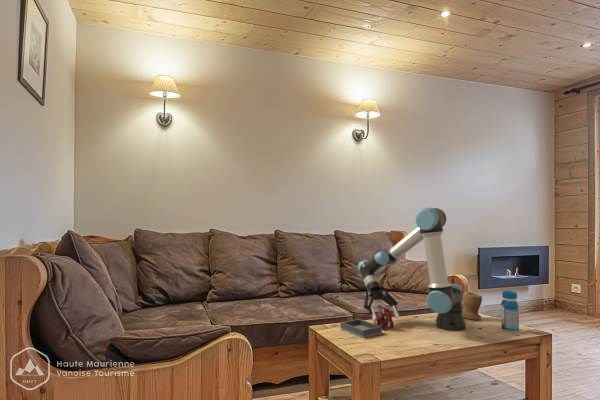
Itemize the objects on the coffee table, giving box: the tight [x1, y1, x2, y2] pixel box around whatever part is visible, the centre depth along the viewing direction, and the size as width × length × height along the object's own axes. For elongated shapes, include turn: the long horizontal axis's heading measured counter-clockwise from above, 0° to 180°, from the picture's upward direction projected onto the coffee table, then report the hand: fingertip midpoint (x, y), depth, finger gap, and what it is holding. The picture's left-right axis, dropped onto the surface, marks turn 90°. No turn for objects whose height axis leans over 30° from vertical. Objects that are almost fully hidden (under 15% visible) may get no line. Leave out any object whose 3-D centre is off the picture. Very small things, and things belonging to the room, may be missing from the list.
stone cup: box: [462, 291, 483, 321], centre depth 222 cm, size 15×12×15 cm
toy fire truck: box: [373, 305, 395, 330], centre depth 203 cm, size 7×12×10 cm, turn 22°
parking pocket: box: [340, 318, 383, 339], centre depth 195 cm, size 17×13×4 cm
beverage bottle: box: [500, 290, 520, 333], centre depth 198 cm, size 8×8×20 cm
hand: (386, 318), depth 201 cm, fingers open, 13 cm apart
